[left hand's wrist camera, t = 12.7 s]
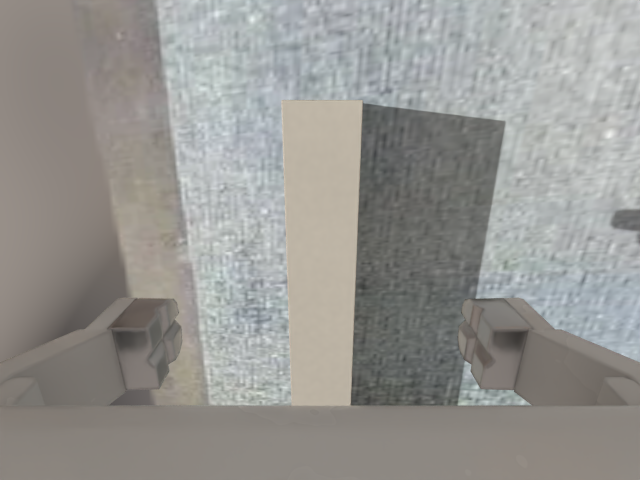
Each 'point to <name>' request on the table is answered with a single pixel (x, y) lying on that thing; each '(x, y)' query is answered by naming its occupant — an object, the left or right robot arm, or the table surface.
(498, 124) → the table surface
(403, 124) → the table surface
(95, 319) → the left robot arm
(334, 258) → the beam
